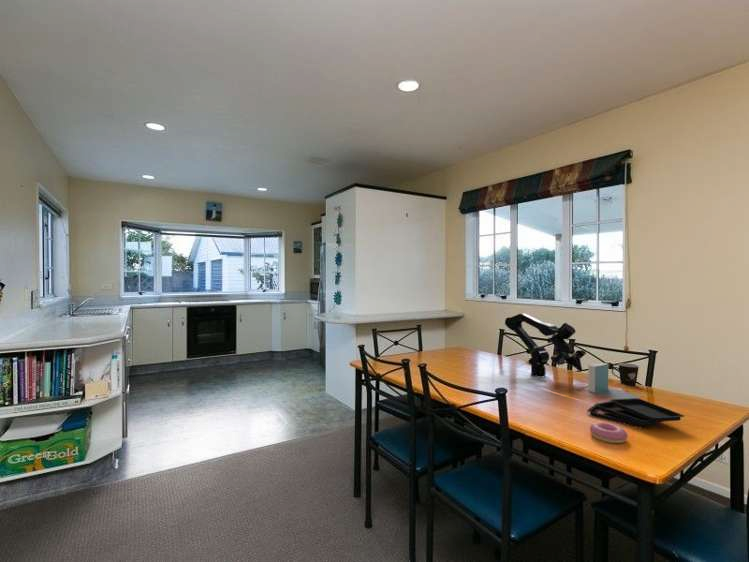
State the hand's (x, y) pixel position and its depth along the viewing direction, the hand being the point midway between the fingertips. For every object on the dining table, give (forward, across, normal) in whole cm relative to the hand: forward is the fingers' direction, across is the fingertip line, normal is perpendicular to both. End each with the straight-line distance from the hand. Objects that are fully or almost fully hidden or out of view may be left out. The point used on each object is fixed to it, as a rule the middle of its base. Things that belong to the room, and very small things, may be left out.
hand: (581, 370), depth 186 cm
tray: (+31, +22, +19) cm, 42 cm away
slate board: (+16, 0, +5) cm, 17 cm away
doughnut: (+35, +49, +23) cm, 64 cm away
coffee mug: (+11, -25, -1) cm, 27 cm away
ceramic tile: (+11, 0, +1) cm, 11 cm away
